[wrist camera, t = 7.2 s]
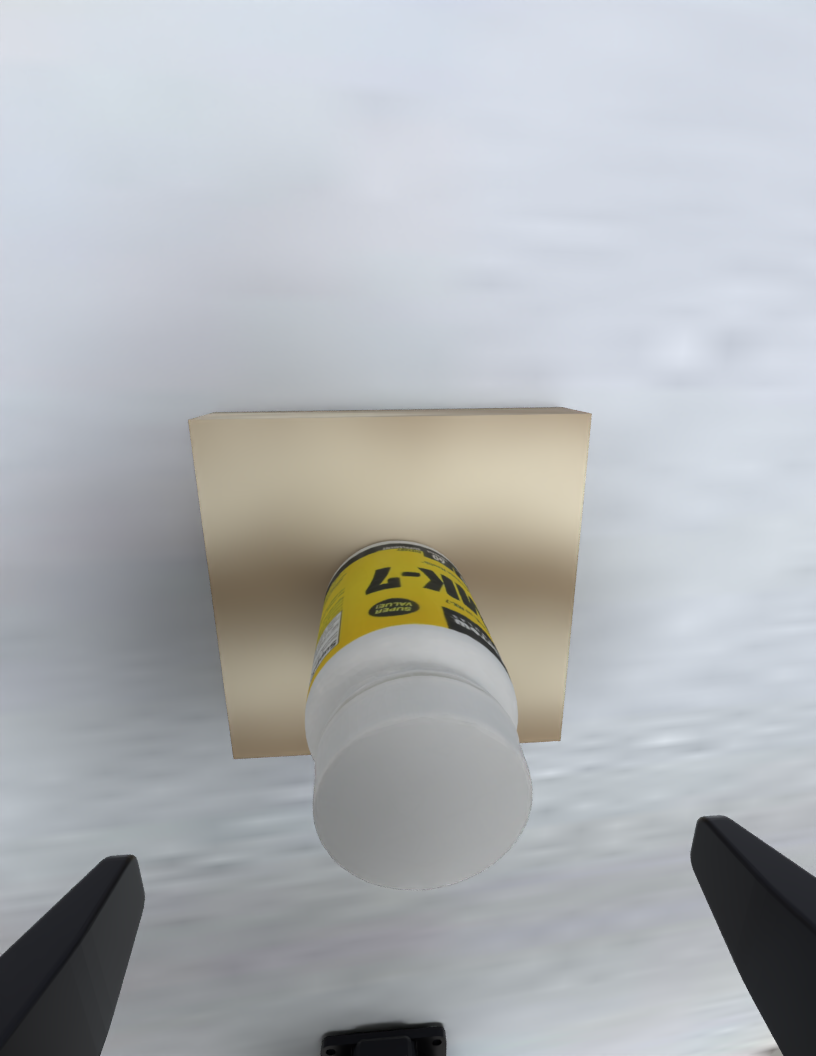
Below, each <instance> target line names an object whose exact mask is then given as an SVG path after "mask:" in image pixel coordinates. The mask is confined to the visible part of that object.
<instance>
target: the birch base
mask: <svg viewBox="0 0 816 1056" xmlns="http://www.w3.org/2000/svg"><path fill="white" fill-rule="evenodd" d="M591 416H592V414H591V413H586V412H582V411H577V410H573V409H568V408H563V407H553V408H484V409H415V410H347V411H278V412H213V413H210V414H206V415H203V416H199V417H196V418H193V419H189V420H188V423H189V430H190V438H191V445H192V453H193V460H194V467H195V475H196V482H197V490H198V497H199V505H200V512H201V520H202V527H203V535H204V542H205V549H206V557H207V564H208V572H209V579H210V587H211V594H212V602H213V609H214V617H215V624H216V631H217V639H218V646H219V654H220V661H221V669H222V676H223V684H224V691H225V699H226V706H227V713H228V721H229V728H230V736H231V743H232V751H233V758H234V759H243V758H261V757H279V756H297V755H311V753H310V750H309V747H308V743H307V739H306V732H305V708H306V700H307V695H308V689H309V683H310V678H311V672H312V666H313V660H314V654H315V649H316V644H317V638H318V633H319V627H320V621H321V616H322V611H323V605H324V599H325V594H326V591H327V588H328V585H329V583H330V581H331V579H332V577H333V575H334V574H335V572H336V571H337V570H338V568H339V567H340V566H341V565H342V564H343V563H344V562H345V561H346V560H347V559H348V558H349V557H350V556H352V555H353V554H355V553H356V552H358V551H359V550H361V549H363V548H365V547H367V546H370V545H372V544H376V543H379V542H385V541H410V542H416V543H420V544H423V545H426V546H428V547H431V548H433V549H435V550H437V551H438V552H440V553H441V554H443V555H444V556H445V557H447V558H448V559H449V560H450V561H451V562H452V563H453V564H454V566H455V567H456V568H457V569H458V571H459V572H460V574H461V576H462V577H463V579H464V581H465V583H466V585H467V587H468V589H469V592H470V594H471V596H472V598H473V600H474V602H475V604H476V606H477V608H478V610H479V612H480V615H481V617H482V618H483V621H484V623H485V625H486V627H487V629H488V631H489V633H490V636H491V638H492V640H493V642H494V644H495V646H496V648H497V650H498V652H499V655H500V657H501V659H502V661H503V663H504V665H505V667H506V669H507V671H508V674H509V677H510V679H511V681H512V684H513V687H514V690H515V695H516V699H517V707H518V725H517V733H518V737H519V742H520V743H530V742H548V741H560V739H561V728H562V718H563V708H564V697H565V687H566V676H567V666H568V655H569V645H570V635H571V624H572V614H573V603H574V593H575V582H576V572H577V562H578V551H579V541H580V530H581V520H582V509H583V499H584V489H585V478H586V468H587V457H588V447H589V437H590V426H591Z"/></svg>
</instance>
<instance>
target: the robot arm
mask: <svg viewBox="0 0 816 1056" xmlns="http://www.w3.org/2000/svg"><path fill="white" fill-rule="evenodd" d="M690 856H691V864H692V867H693V870H694V873H695V875H696V877H697V880H698V882H699V884H700V886H701V889H702V891H703V893H704V895H705V898H706V900H707V902H708V904H709V907H710V909H711V911H712V913H713V916H714V918H715V920H716V922H717V925H718V927H719V929H720V931H721V934H722V936H723V938H724V940H725V943H726V945H727V947H728V949H729V952H730V954H731V956H732V958H733V961H734V963H735V965H736V967H737V969H738V971H739V973H740V975H741V977H742V980H743V982H744V983H745V985H746V987H747V989H748V991H749V993H750V995H751V997H752V999H753V1001H754V1002H755V1004H756V1006H757V1008H758V1010H759V1012H760V1014H761V1015H762V1017H763V1019H764V1021H765V1023H766V1025H767V1026H768V1028H769V1030H770V1032H771V1034H772V1036H773V1037H774V1039H775V1041H776V1043H777V1045H778V1047H779V1048H780V1050H781V1052H782V1054H783V1056H816V877H814V876H813V875H811V874H810V873H808V872H807V871H806V870H804V869H803V868H801V867H800V866H798V865H797V864H795V863H794V862H792V861H791V860H790V859H788V858H787V857H785V856H784V855H782V854H781V853H779V852H778V851H776V850H775V849H774V848H772V847H771V846H769V845H768V844H766V843H765V842H763V841H762V840H760V839H759V838H758V837H756V836H755V835H753V834H752V833H750V832H749V831H747V830H746V829H744V828H743V827H742V826H740V825H739V824H737V823H736V822H734V821H733V820H731V819H730V818H728V817H726V816H722V815H717V816H703V817H700V818H699V819H698V821H697V823H696V828H695V833H694V838H693V843H692V848H691V853H690ZM144 901H145V893H144V887H143V883H142V878H141V874H140V869H139V865H138V861H137V858H136V857H135V856H134V855H117V856H109V857H106V858H105V859H103V860H102V861H101V862H100V863H99V864H98V865H96V866H95V867H94V868H93V869H92V870H91V871H90V872H89V873H88V874H87V875H86V876H85V877H84V878H83V879H82V880H81V881H80V882H79V883H78V884H76V885H75V886H74V887H73V888H72V889H71V890H70V891H69V892H68V893H67V894H66V895H65V896H64V897H63V898H62V899H61V900H60V901H59V902H57V903H56V904H55V905H54V906H53V907H52V908H51V909H50V910H49V911H48V912H47V913H46V914H45V915H44V916H43V917H42V918H41V919H40V920H39V921H37V922H36V923H35V924H34V925H33V926H32V927H31V928H30V929H29V930H28V931H27V932H26V933H25V934H24V935H23V936H22V937H21V938H20V939H18V940H17V941H16V942H15V943H14V944H13V945H12V946H11V947H10V948H9V949H8V950H7V951H6V952H5V953H4V954H3V955H2V956H1V957H0V1056H100V1054H101V1051H102V1049H103V1046H104V1043H105V1040H106V1037H107V1034H108V1031H109V1028H110V1025H111V1021H112V1018H113V1015H114V1011H115V1008H116V1004H117V1001H118V997H119V994H120V990H121V987H122V983H123V979H124V976H125V972H126V969H127V965H128V962H129V958H130V955H131V951H132V948H133V944H134V941H135V937H136V934H137V930H138V927H139V923H140V920H141V916H142V912H143V908H144ZM321 1056H446V1033H445V1030H444V1029H443V1028H441V1027H428V1028H417V1029H406V1030H394V1031H383V1032H372V1033H361V1034H350V1035H339V1036H329V1037H326V1038H324V1039H323V1041H322V1045H321Z"/></svg>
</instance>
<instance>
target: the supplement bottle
mask: <svg viewBox="0 0 816 1056" xmlns="http://www.w3.org/2000/svg"><path fill="white" fill-rule="evenodd" d="M517 725H518V707H517V699H516V695H515V690H514V687H513V684H512V681H511V679H510V677H509V674H508V671H507V669H506V667H505V665H504V663H503V661H502V659H501V657H500V655H499V652H498V650H497V648H496V646H495V644H494V642H493V640H492V638H491V636H490V633H489V631H488V629H487V627H486V625H485V623H484V621H483V618H482V617H481V615H480V612H479V610H478V608H477V606H476V604H475V602H474V600H473V598H472V596H471V594H470V592H469V589H468V587H467V585H466V583H465V581H464V579H463V577H462V576H461V574H460V572H459V571H458V569H457V568H456V567H455V566H454V564H453V563H452V562H451V561H450V560H449V559H448V558H447V557H445V556H444V555H443V554H441V553H440V552H438V551H437V550H435V549H433V548H431V547H428V546H426V545H423V544H420V543H416V542H410V541H385V542H379V543H376V544H372V545H370V546H367V547H365V548H363V549H361V550H359V551H358V552H356V553H355V554H353V555H352V556H350V557H349V558H348V559H347V560H346V561H345V562H344V563H343V564H342V565H341V566H340V567H339V568H338V570H337V571H336V572H335V574H334V575H333V577H332V579H331V581H330V583H329V585H328V588H327V591H326V594H325V599H324V605H323V611H322V616H321V621H320V627H319V633H318V638H317V644H316V649H315V654H314V660H313V666H312V672H311V678H310V683H309V689H308V695H307V700H306V708H305V732H306V739H307V743H308V747H309V750H310V753H311V756H312V758H313V760H314V762H315V780H314V794H313V816H314V823H315V827H316V830H317V833H318V836H319V838H320V841H321V843H322V845H323V846H324V848H325V849H326V850H327V852H328V853H329V855H330V856H331V857H332V858H333V859H334V860H335V861H336V862H337V863H338V864H339V865H340V866H341V867H342V868H344V869H345V870H347V871H348V872H350V873H351V874H352V875H354V876H356V877H358V878H360V879H362V880H364V881H366V882H369V883H372V884H375V885H378V886H383V887H388V888H393V889H400V890H427V889H434V888H439V887H444V886H448V885H452V884H455V883H458V882H460V881H463V880H466V879H468V878H470V877H473V876H475V875H477V874H479V873H481V872H482V871H484V870H486V869H487V868H489V867H490V866H492V865H493V864H494V863H496V862H497V861H498V860H499V859H500V858H501V857H502V856H503V855H504V854H505V853H506V852H508V851H509V850H510V848H511V847H512V846H513V845H514V844H515V842H516V841H517V839H518V838H519V836H520V835H521V833H522V831H523V829H524V827H525V826H526V823H527V821H528V818H529V814H530V810H531V805H532V782H531V777H530V773H529V769H528V766H527V763H526V760H525V758H524V755H523V751H522V748H521V745H520V742H519V737H518V733H517Z"/></svg>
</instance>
